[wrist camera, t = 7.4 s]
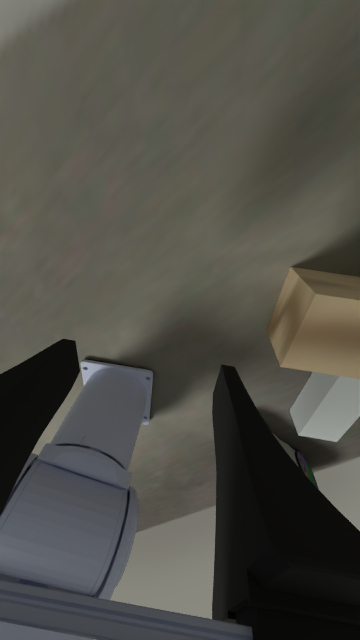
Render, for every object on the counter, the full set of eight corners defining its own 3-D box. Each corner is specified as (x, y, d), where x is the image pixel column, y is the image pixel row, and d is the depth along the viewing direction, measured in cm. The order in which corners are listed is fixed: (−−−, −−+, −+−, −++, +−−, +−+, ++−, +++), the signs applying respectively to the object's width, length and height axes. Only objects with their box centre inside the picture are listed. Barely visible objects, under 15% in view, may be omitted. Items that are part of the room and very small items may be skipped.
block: (331, 338, 21) (362, 379, 17) (265, 328, 21) (280, 366, 17) (367, 277, 18) (417, 309, 14) (290, 266, 18) (315, 293, 14)
